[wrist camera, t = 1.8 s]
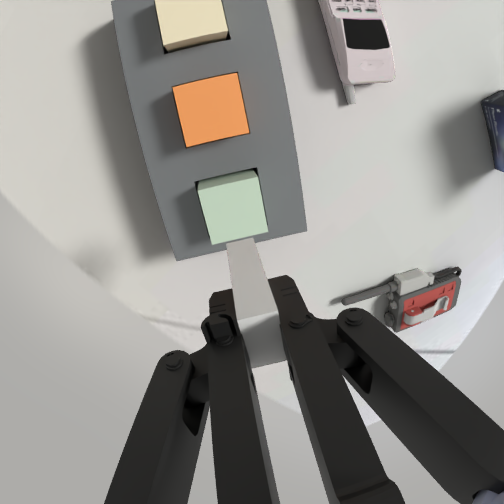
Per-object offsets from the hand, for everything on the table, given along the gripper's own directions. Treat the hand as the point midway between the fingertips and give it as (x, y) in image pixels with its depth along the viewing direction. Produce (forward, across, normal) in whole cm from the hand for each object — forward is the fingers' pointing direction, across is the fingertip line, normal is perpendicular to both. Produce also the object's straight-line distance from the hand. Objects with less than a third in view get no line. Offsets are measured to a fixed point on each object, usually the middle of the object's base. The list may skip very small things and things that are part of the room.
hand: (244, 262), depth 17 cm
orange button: (+12, 0, +9) cm, 14 cm away
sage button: (+12, 0, +1) cm, 12 cm away
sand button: (+12, 0, +17) cm, 20 cm away
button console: (+13, 0, +9) cm, 16 cm away
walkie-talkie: (+14, +20, -19) cm, 31 cm away
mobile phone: (+13, +15, +20) cm, 28 cm away
